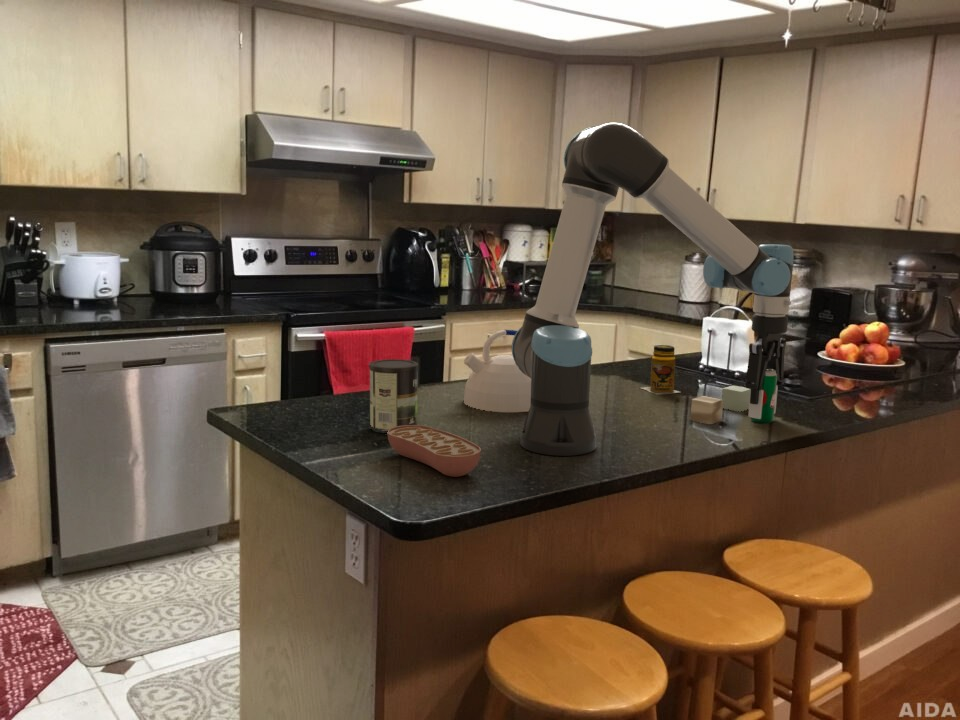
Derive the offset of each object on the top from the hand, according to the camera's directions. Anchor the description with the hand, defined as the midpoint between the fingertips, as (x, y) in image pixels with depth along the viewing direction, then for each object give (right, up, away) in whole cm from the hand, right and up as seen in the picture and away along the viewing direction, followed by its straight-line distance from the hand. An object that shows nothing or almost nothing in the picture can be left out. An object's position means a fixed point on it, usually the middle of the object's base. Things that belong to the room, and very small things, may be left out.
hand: (761, 414), depth 191 cm
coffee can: (-83, -2, -12) cm, 83 cm away
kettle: (-58, +2, +13) cm, 60 cm away
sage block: (-2, +1, +12) cm, 12 cm away
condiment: (-17, +4, +30) cm, 35 cm away
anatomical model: (-73, -7, -36) cm, 81 cm away
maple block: (-13, -1, 0) cm, 13 cm away
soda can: (0, -2, 0) cm, 2 cm away
